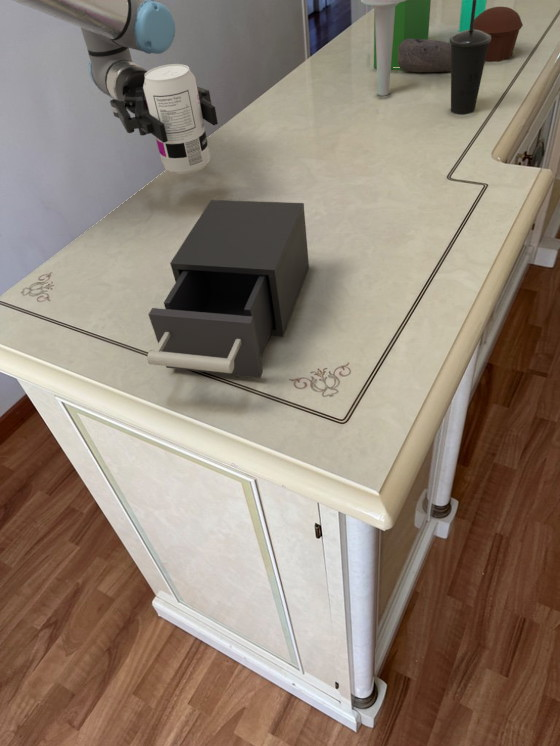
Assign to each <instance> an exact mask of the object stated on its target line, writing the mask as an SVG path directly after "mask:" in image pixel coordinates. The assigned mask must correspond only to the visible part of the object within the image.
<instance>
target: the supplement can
mask: <svg viewBox="0 0 560 746" xmlns="http://www.w3.org/2000/svg"><path fill="white" fill-rule="evenodd" d="M147 71H148V72H146V73H145V81H144V86H143V89H144V93H145V97H146V101H147V105H148V109H149V113H150V115H152V116H153V117H155V118H156V119H158V120H159V121H160V122H162V123H163V124H164V127H165V131H166V135H167V139H168V141H167V142H164V143H163V142H162V141H161V140H159V139H158V138H157V137H155V141H156V145H157V149H158V151H159V152H158V153H159V157H160V161H161V164H162V167H163V168H164V169H165V170H166V171H168V172H169V173H171V174H174V175H190V174H194V173H196V172H199V171H201V170H203V169H205V167H206V166H207V165H208V163H209V162H210V160H211V154H210V148H209V144H208V143H209V142H208V139H207V133H206V132H207V131H206V127H205V123H204V121H205V120H204V119H203V116H202V111H201V106H200V100H199V95H198V90H197V87H198V85H197V80H196V76H195V75H194V73H193V72H192V71H191V70H190V67H189V66H188V65H185V64H184V63H183V64H182V63H171V64H164V65H159V66H156V67H154V68H151V69H149V70H147Z"/></svg>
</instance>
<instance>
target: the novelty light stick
mask: <svg viewBox="0 0 560 746" xmlns="http://www.w3.org/2000/svg"><path fill="white" fill-rule="evenodd" d="M403 1H406V0H360V2H361V4H363V5H366V6H367V5H368V6H372V7H373V8H375V30H376V58H377V68H376V81H377V82H376V83H377V95H378V96H383V97H384V96H388V95H389V94H390V84H391V71H392V70H391V58H392V44H393V30H394V17H395V6H396V5H397V4H399V3H400V2H403Z"/></svg>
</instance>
